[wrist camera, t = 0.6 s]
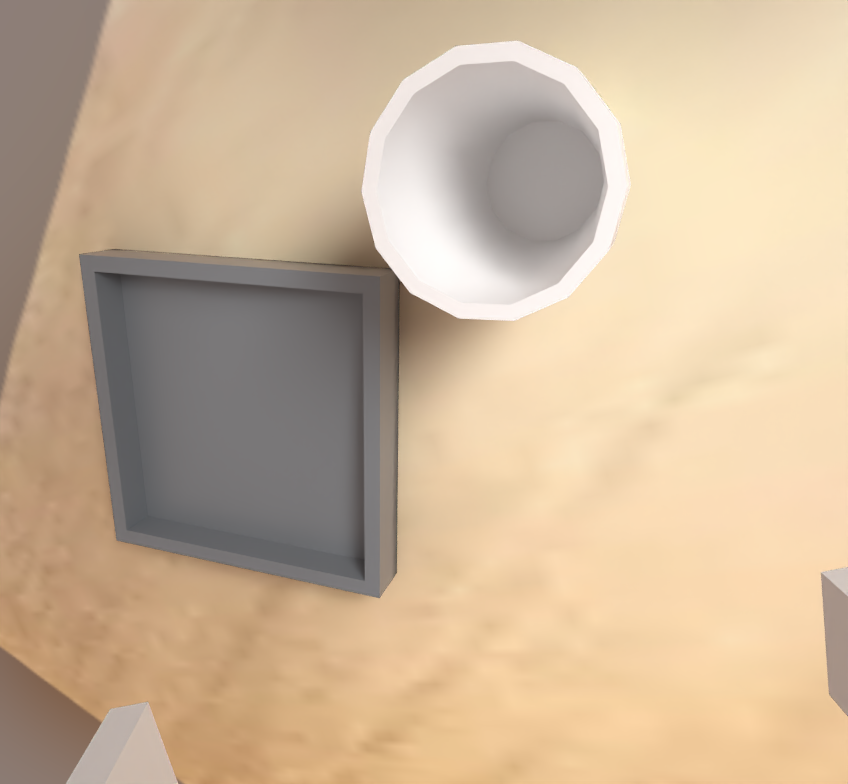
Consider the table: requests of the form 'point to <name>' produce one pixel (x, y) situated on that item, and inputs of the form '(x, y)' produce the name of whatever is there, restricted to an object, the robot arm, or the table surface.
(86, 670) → the table surface
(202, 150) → the table surface
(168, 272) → the tray
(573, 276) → the foam cup
